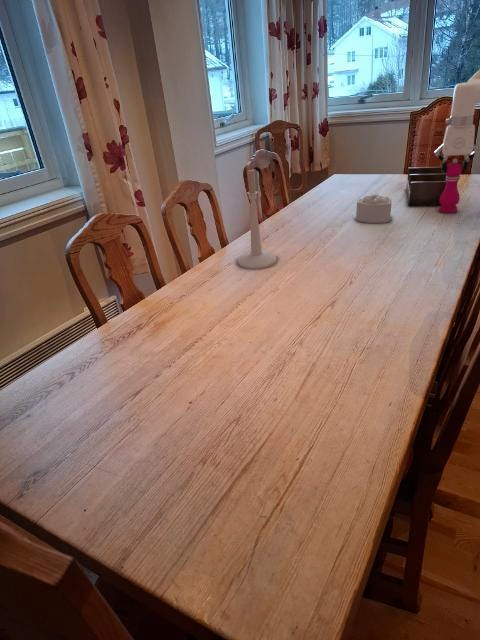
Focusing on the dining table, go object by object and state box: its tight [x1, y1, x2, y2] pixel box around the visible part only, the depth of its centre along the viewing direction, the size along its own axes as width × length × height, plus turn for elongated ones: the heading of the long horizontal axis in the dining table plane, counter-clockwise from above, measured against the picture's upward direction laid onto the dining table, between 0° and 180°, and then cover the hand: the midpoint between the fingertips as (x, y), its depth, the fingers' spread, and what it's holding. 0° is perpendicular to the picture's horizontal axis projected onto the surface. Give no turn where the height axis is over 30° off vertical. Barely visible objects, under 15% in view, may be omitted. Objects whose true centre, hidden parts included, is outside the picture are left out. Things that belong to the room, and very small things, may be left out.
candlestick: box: [237, 169, 277, 270], centre depth 137 cm, size 13×13×30 cm
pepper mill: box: [439, 158, 463, 214], centre depth 167 cm, size 7×7×20 cm
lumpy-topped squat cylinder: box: [355, 193, 392, 224], centre depth 169 cm, size 10×13×9 cm
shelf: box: [405, 166, 447, 207], centre depth 188 cm, size 16×28×10 cm, turn 163°
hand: (453, 172), depth 164 cm, fingers closed on pepper mill, 6 cm apart
